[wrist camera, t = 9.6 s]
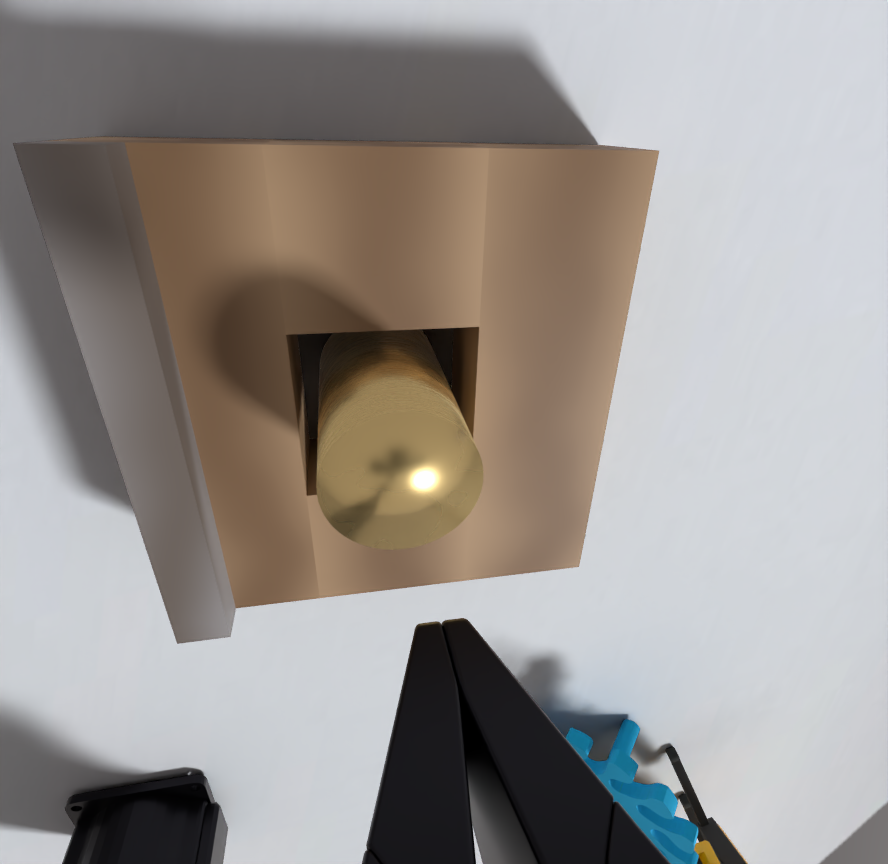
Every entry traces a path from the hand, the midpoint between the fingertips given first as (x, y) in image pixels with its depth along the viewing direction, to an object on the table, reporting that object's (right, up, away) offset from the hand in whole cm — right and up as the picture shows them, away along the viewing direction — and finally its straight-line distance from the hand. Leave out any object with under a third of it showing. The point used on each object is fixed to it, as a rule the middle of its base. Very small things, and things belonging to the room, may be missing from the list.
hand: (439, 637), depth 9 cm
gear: (+8, -15, +24) cm, 30 cm away
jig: (-2, +6, +10) cm, 12 cm away
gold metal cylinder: (-2, +6, +10) cm, 12 cm away
